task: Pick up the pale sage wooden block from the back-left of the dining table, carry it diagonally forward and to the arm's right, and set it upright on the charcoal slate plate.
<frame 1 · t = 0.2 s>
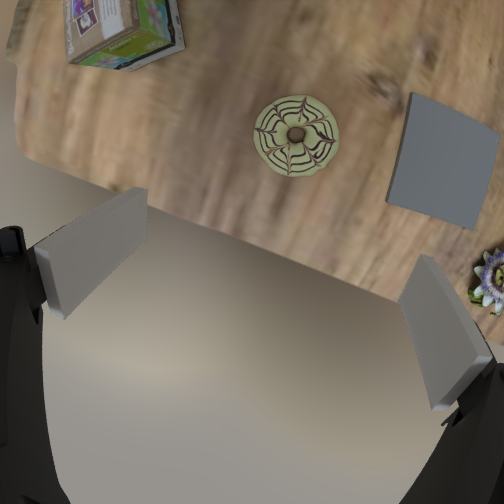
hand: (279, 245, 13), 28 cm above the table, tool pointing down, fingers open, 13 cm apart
tea box: (151, 21, 31), on the table
slate plate: (446, 164, 33), on the table
passion flower: (489, 269, 38), on the table
decorated donut: (297, 134, 36), on the table
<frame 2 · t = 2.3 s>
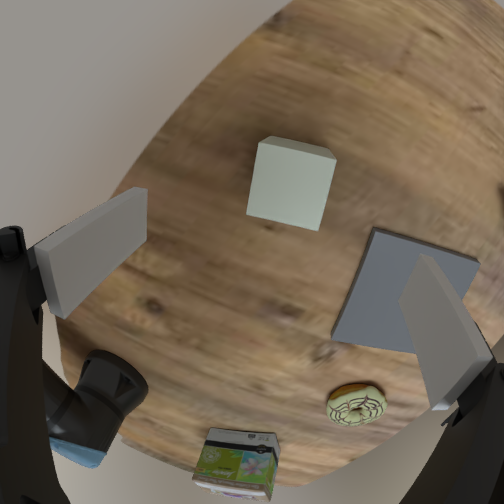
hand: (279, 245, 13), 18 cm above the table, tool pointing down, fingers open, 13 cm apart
tea box: (245, 438, 56), on the table
slate plate: (406, 298, 33), on the table
decorated donut: (356, 397, 44), on the table
sage block: (294, 169, 29), on the table
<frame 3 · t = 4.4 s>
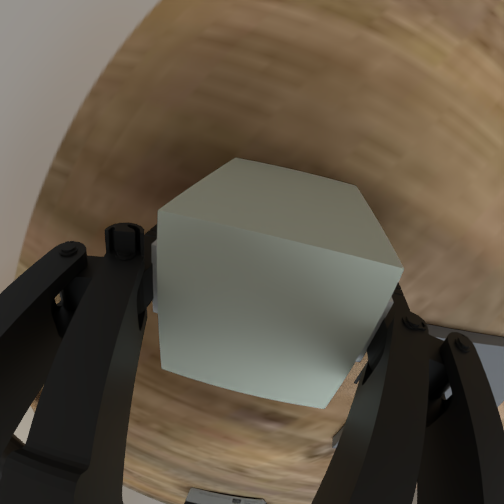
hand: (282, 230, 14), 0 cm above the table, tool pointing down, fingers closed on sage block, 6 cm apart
tea box: (231, 498, 42), on the table
slate plate: (442, 400, 19), on the table
sage block: (283, 226, 15), on the table, touching gripper
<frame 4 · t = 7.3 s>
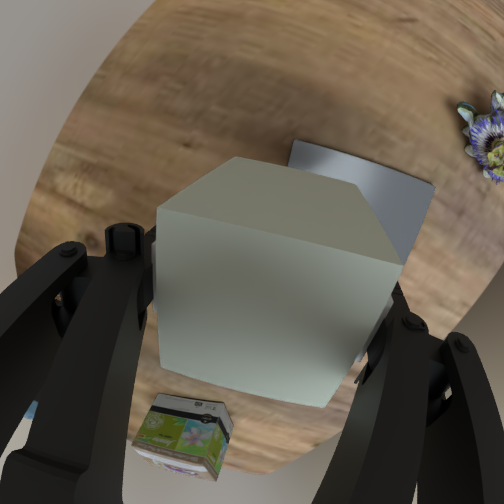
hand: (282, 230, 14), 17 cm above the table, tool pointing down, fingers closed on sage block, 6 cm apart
tea box: (195, 409, 54), on the table
slate plate: (346, 228, 31), on the table
passion flower: (489, 132, 22), on the table
sage block: (283, 225, 15), point 17 cm above the table, touching gripper
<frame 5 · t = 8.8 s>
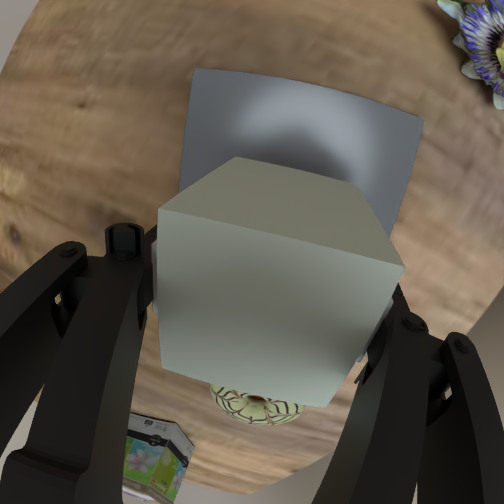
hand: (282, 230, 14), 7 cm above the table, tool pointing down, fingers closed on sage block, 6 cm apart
tea box: (151, 426, 44), on the table
slate plate: (289, 192, 21), on the table
passion flower: (491, 52, 12), on the table
decorated donut: (260, 380, 32), on the table
sage block: (283, 225, 15), point 7 cm above the table, touching gripper
when the fingers open (3 cm above the table, at t = 10.0 s): sage block drops 1 cm, resting on slate plate.
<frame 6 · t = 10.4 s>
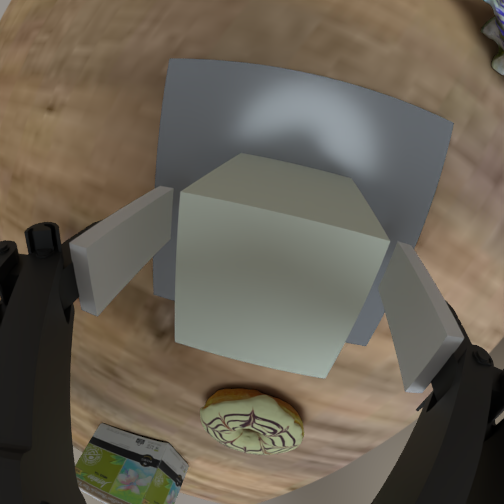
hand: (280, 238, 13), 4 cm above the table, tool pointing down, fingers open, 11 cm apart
tea box: (143, 443, 40), on the table
slate plate: (287, 210, 17), on the table
decorated donut: (255, 409, 28), on the table
sage block: (285, 216, 16), point 1 cm above the table, touching slate plate
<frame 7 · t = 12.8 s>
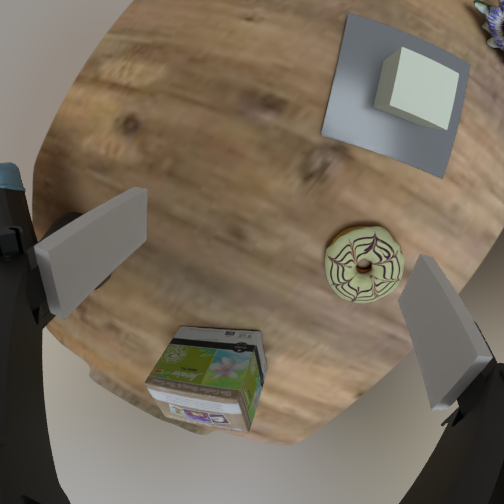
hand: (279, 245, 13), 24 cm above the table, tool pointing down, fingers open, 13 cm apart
tea box: (224, 346, 51), on the table
slate plate: (400, 93, 27), on the table
passion flower: (503, 35, 17), on the table
decorated donut: (362, 257, 38), on the table
sage block: (402, 92, 26), point 1 cm above the table, touching slate plate
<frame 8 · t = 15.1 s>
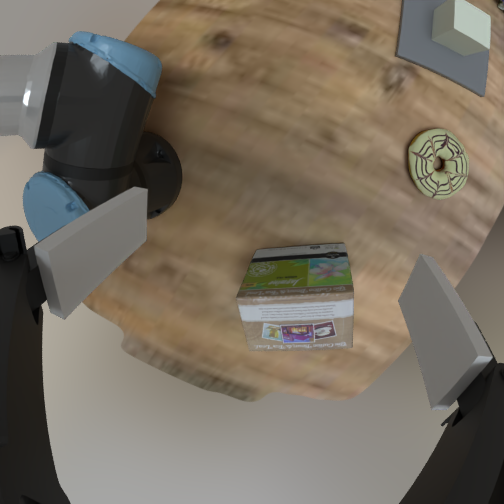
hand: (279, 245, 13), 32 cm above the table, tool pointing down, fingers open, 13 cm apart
tea box: (302, 269, 50), on the table
slate plate: (446, 34, 26), on the table
decorated donut: (433, 161, 37), on the table
sage block: (449, 32, 25), point 1 cm above the table, touching slate plate
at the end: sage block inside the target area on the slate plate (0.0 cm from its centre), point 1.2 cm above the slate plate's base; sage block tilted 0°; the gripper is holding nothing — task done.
